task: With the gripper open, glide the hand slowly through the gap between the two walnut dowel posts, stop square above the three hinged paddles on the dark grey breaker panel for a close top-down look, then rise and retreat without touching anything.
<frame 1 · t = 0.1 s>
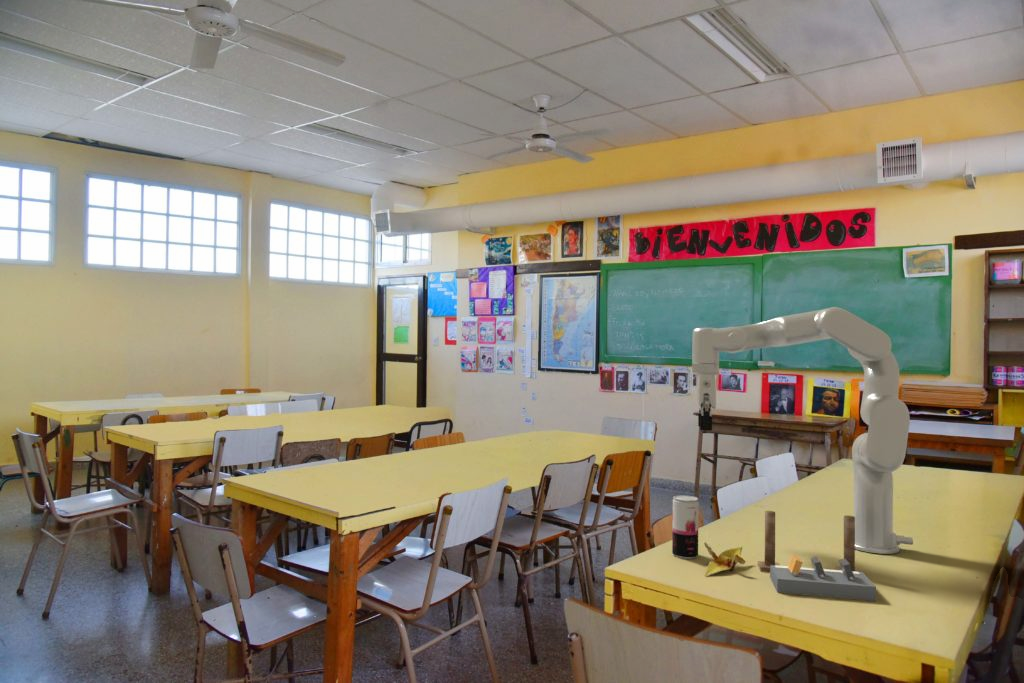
hand: (704, 428, 193), 31 cm above the table, fingers open, 9 cm apart
toggle a: (846, 569, 149), point 5 cm above the table, hinge at 18.0°
toggle b: (818, 567, 150), point 5 cm above the table, hinge at 18.0°
post left: (769, 568, 163), on the table
beverage can: (685, 556, 174), on the table
origami crane: (724, 570, 163), on the table
toggle c: (795, 565, 151), point 5 cm above the table, hinge at -18.0°
panel: (820, 588, 150), on the table
post right: (849, 575, 160), on the table
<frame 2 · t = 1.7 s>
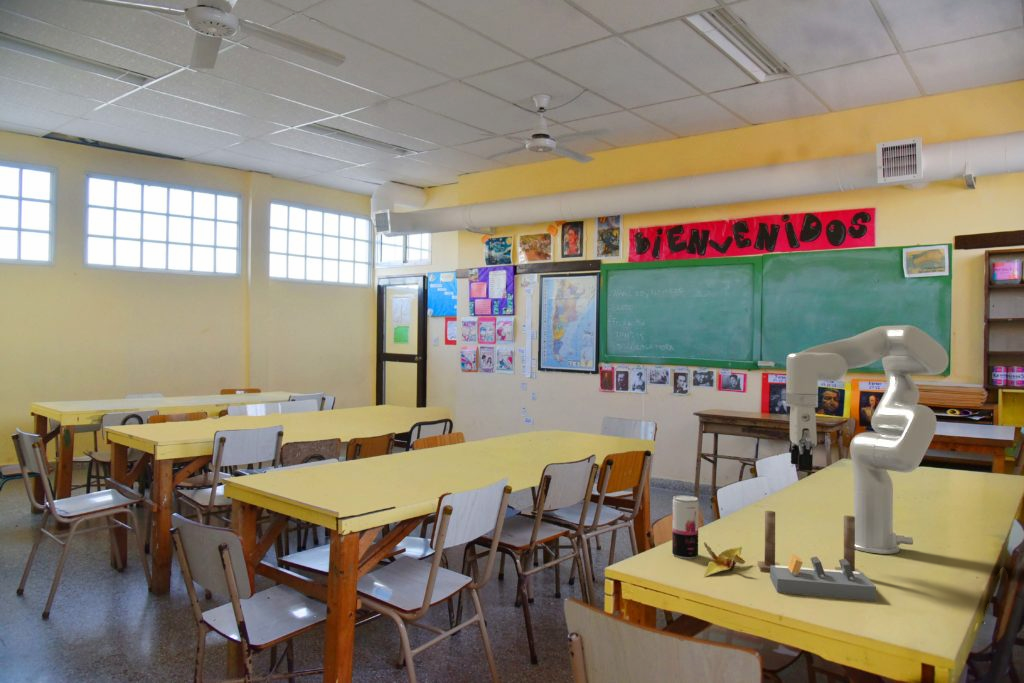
hand: (801, 467, 171), 24 cm above the table, fingers open, 9 cm apart
nothing on the table moved.
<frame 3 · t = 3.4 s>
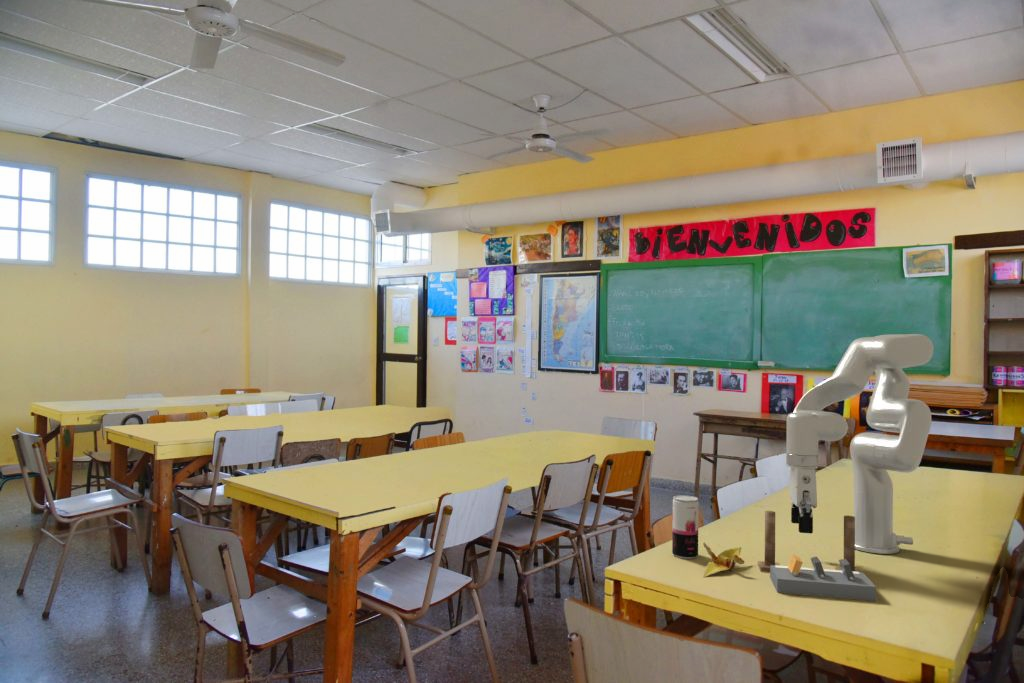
hand: (801, 527, 170), 9 cm above the table, fingers open, 9 cm apart
nothing on the table moved.
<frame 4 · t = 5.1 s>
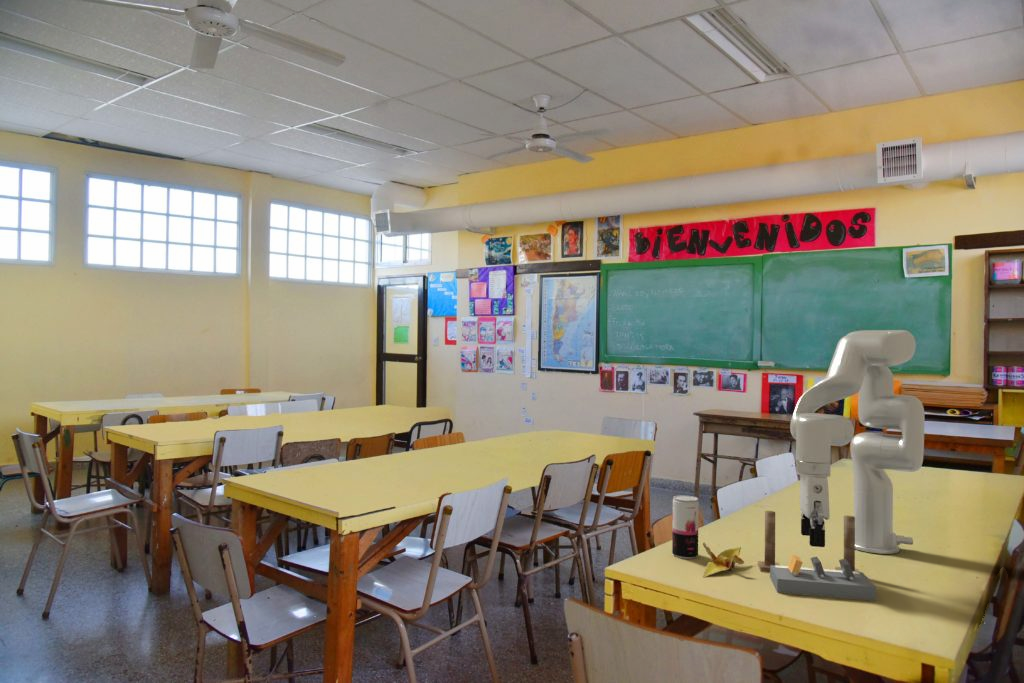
hand: (812, 540, 158), 9 cm above the table, fingers open, 9 cm apart
nothing on the table moved.
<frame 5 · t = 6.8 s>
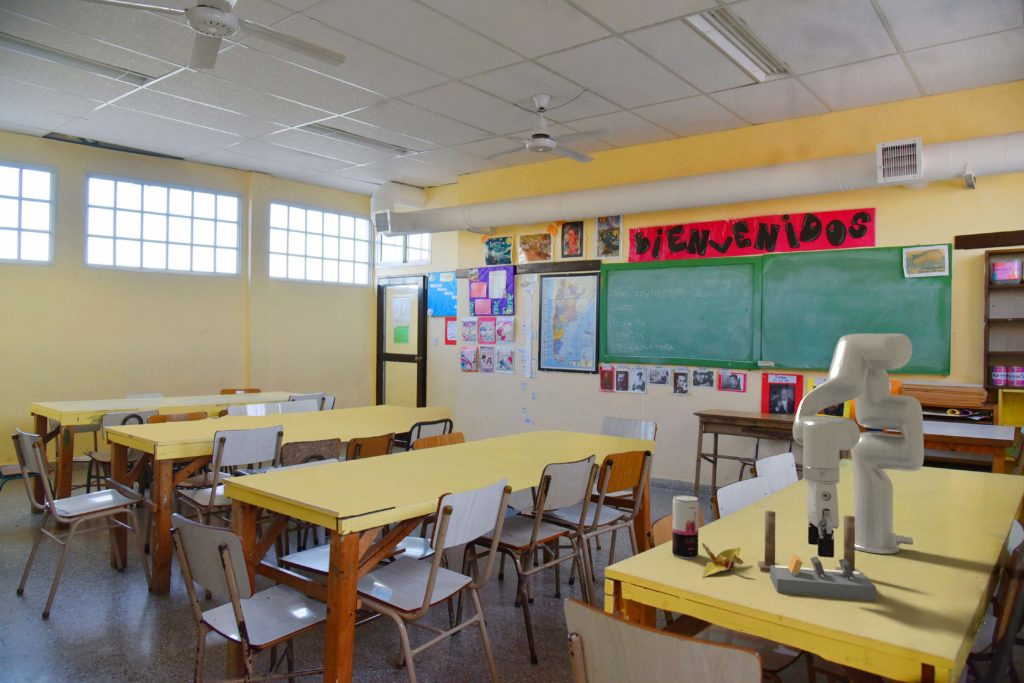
hand: (820, 550, 150), 9 cm above the table, fingers open, 9 cm apart
nothing on the table moved.
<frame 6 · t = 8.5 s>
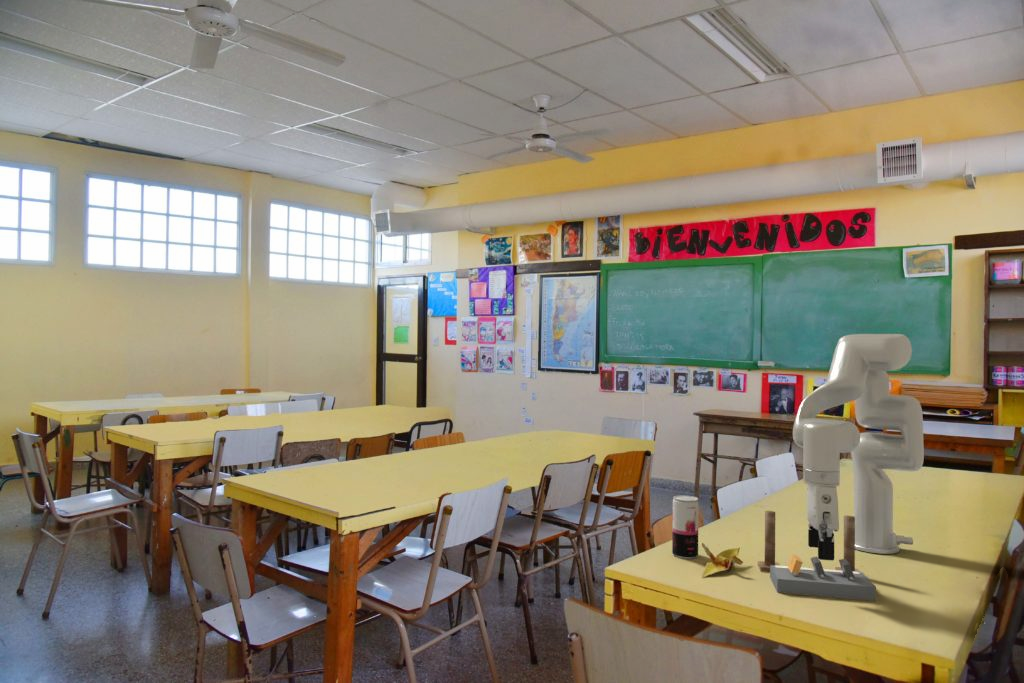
hand: (820, 553, 150), 8 cm above the table, fingers open, 9 cm apart
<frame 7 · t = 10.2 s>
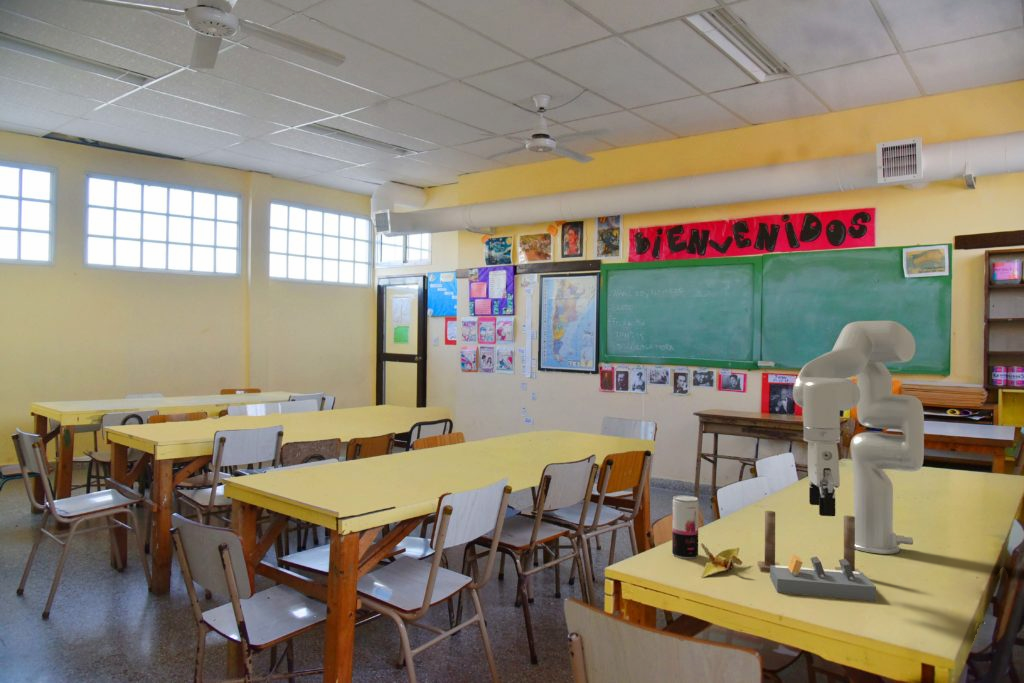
hand: (821, 510, 151), 18 cm above the table, fingers open, 9 cm apart
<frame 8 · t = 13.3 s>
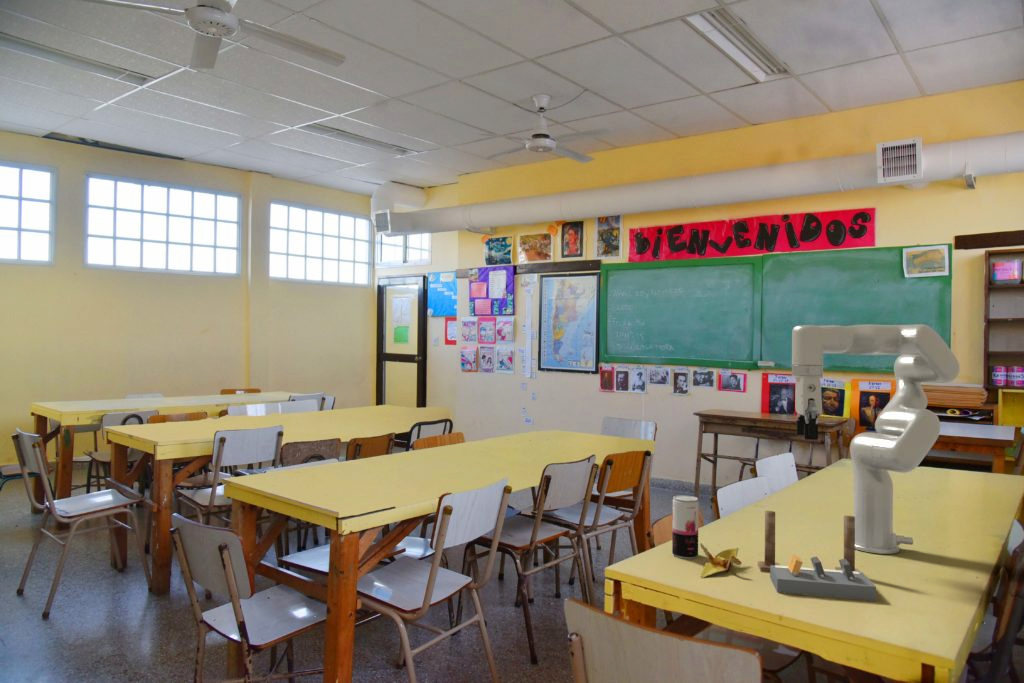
hand: (806, 437, 174), 31 cm above the table, fingers open, 9 cm apart
at the end: toggle a at +18° (first picture: +18°); toggle b at +18° (first picture: +18°); toggle c at -18° (first picture: -18°) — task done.
